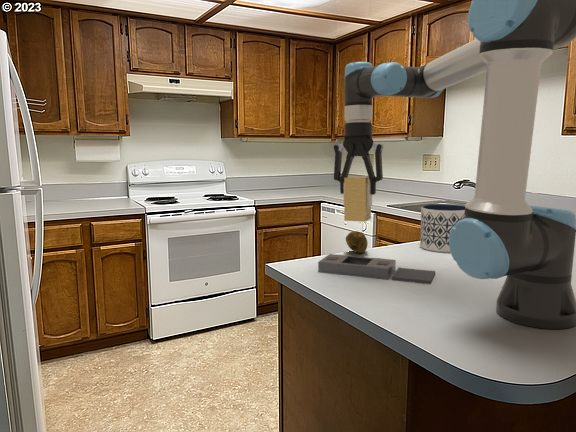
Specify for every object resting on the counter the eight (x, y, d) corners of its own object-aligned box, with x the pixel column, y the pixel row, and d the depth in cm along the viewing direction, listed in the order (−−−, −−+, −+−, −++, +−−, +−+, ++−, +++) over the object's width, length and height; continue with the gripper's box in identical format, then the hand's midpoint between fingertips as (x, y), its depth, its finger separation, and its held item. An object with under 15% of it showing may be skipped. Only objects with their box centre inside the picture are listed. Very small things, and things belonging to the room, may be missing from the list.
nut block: (365, 221, 123) (365, 177, 121) (344, 220, 126) (344, 177, 124) (370, 218, 129) (371, 176, 127) (350, 217, 131) (350, 176, 129)
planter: (446, 241, 167) (448, 203, 164) (478, 250, 152) (481, 208, 150) (410, 245, 161) (411, 205, 159) (440, 255, 146) (441, 211, 144)
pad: (430, 284, 117) (430, 281, 116) (391, 279, 121) (391, 276, 121) (435, 273, 125) (435, 271, 125) (398, 270, 130) (398, 267, 130)
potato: (373, 249, 155) (374, 227, 154) (363, 258, 144) (364, 234, 142) (350, 248, 159) (350, 225, 157) (339, 256, 147) (339, 232, 146)
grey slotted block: (395, 269, 130) (395, 259, 130) (387, 279, 121) (388, 268, 121) (329, 263, 138) (329, 253, 138) (318, 271, 129) (318, 261, 129)
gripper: (395, 121, 123) (394, 205, 126) (329, 124, 130) (330, 203, 134) (390, 120, 116) (388, 208, 119) (320, 122, 124) (321, 206, 127)
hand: (357, 205), depth 127 cm, fingers closed on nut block, 6 cm apart
